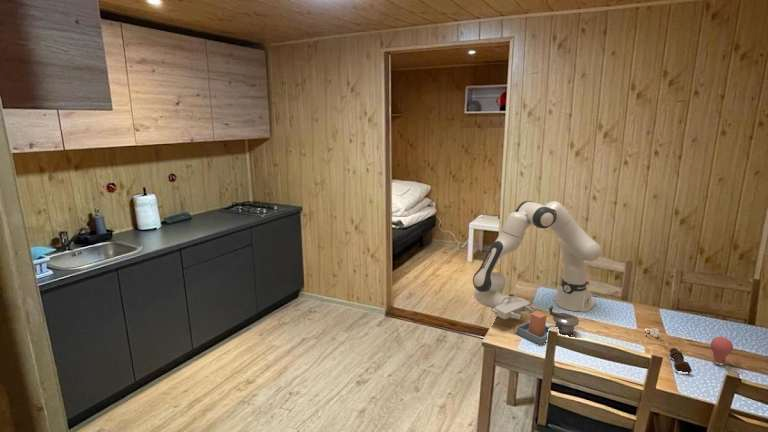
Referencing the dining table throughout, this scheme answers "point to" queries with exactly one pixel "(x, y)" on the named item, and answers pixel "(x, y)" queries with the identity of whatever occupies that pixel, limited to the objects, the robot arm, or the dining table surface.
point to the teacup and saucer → (653, 331)
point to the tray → (529, 336)
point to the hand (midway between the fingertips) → (526, 314)
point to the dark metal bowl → (564, 322)
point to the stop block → (537, 323)
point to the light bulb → (721, 348)
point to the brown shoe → (679, 361)
